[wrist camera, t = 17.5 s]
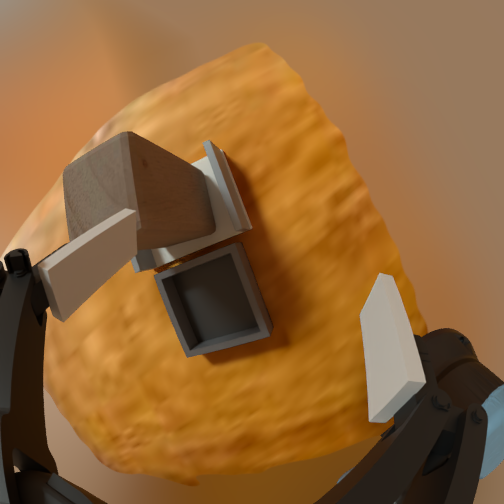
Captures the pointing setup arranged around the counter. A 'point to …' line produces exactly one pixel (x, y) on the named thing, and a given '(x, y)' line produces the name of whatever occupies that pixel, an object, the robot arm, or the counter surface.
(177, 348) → the counter surface
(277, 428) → the counter surface
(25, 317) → the robot arm
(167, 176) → the wooden block
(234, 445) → the counter surface
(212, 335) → the box
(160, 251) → the walled bay
